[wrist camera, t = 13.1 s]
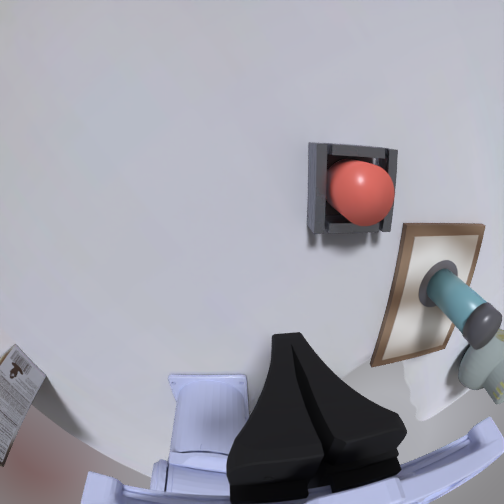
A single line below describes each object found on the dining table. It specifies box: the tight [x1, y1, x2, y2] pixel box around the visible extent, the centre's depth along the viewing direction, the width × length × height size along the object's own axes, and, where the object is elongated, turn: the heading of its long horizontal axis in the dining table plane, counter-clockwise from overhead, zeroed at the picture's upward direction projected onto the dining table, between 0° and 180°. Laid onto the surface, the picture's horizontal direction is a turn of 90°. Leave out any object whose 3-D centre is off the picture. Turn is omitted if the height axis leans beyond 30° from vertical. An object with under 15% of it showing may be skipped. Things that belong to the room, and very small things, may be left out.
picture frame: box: [370, 223, 485, 367], centre depth 24 cm, size 16×11×1 cm
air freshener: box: [458, 328, 504, 404], centre depth 25 cm, size 11×8×10 cm
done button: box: [326, 159, 395, 226], centre depth 18 cm, size 4×4×3 cm
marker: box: [427, 269, 502, 350], centre depth 19 cm, size 4×4×8 cm
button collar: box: [307, 142, 398, 234], centre depth 18 cm, size 6×6×2 cm
